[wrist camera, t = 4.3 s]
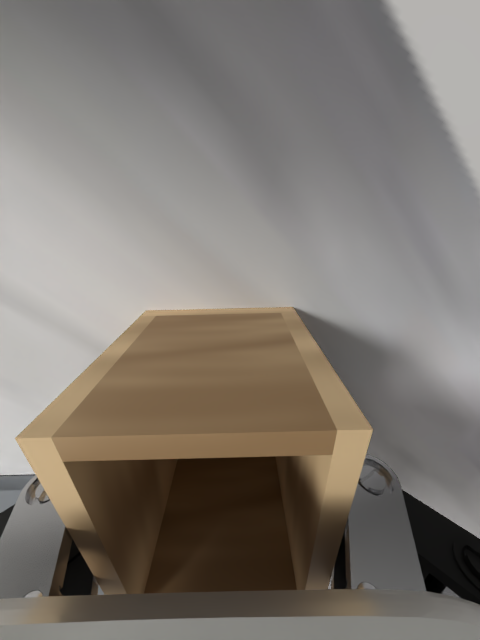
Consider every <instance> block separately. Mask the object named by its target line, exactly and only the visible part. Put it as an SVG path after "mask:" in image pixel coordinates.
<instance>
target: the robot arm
mask: <svg viewBox="0 0 480 640" xmlns="http://www.w3.org/2000/svg"><path fill="white" fill-rule="evenodd" d="M98 586H99V584H98V582H97V581H96V579H95V577H94V575H93V574H92V572H91V570H90V568H89V567H88V565H87V563H86V561H85V560H84V558H83V556H82V554H81V553H80V551H79V549H78V547H77V546H76V544H75V542H74V540H73V539H72V537H71V535H70V533H69V532H68V530H67V528H66V527H65V525H64V523H63V521H62V520H61V518H60V516H59V514H58V513H57V511H56V509H55V507H54V506H53V504H52V502H51V500H50V499H49V497H48V495H47V493H46V492H45V490H44V488H43V486H42V485H41V483H40V481H39V479H38V478H37V476H36V475H35V476H34V477H33V478H31V479H30V481H29V482H28V483H27V484H26V485H25V486H24V488H23V490H22V491H21V493H20V495H19V497H18V499H17V501H16V504H14V505H13V506H11V507H9V508H8V509H6V510H4V511H3V512H1V513H0V640H480V539H479V538H477V537H476V536H474V535H473V534H471V533H469V532H468V531H466V530H465V529H463V528H462V527H460V526H458V525H457V524H455V523H454V522H452V521H451V520H449V519H447V518H446V517H444V516H443V515H441V514H439V513H438V512H436V511H435V510H433V509H432V508H430V507H428V506H427V505H425V504H424V503H422V502H421V501H419V500H417V499H416V498H414V497H413V496H411V495H409V494H408V493H406V492H405V491H403V490H402V489H401V485H400V482H399V480H398V477H397V476H396V474H395V473H394V472H393V470H392V469H391V468H390V467H389V466H388V465H387V464H386V463H384V462H383V461H381V460H379V459H378V458H376V457H373V456H371V455H367V454H366V456H365V460H364V463H363V467H362V470H361V474H360V477H359V481H358V484H357V488H356V491H355V495H354V498H353V502H352V505H351V509H350V512H349V516H348V519H347V523H346V526H345V530H344V533H343V537H342V540H341V544H340V547H339V551H338V554H337V558H336V561H335V565H334V568H333V572H332V575H331V589H323V590H271V591H225V592H184V593H146V594H112V595H98Z"/></svg>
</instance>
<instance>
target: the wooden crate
mask: <svg viewBox="0 0 480 640" xmlns="http://www.w3.org/2000/svg"><path fill="white" fill-rule="evenodd" d="M372 432H373V429H372V427H371V426H370V424H369V422H368V421H367V419H366V418H365V416H364V415H363V413H362V412H361V410H360V409H359V407H358V406H357V404H356V403H355V401H354V400H353V398H352V397H351V395H350V393H349V392H348V390H347V389H346V387H345V386H344V384H343V383H342V381H341V380H340V378H339V377H338V375H337V374H336V372H335V371H334V369H333V367H332V366H331V364H330V363H329V361H328V360H327V358H326V357H325V355H324V354H323V352H322V351H321V349H320V348H319V346H318V345H317V343H316V341H315V340H314V338H313V337H312V335H311V334H310V332H309V331H308V329H307V328H306V326H305V325H304V323H303V322H302V320H301V319H300V317H299V316H298V314H297V312H296V311H295V309H294V308H293V307H276V308H234V309H192V310H150V311H145V312H144V313H143V314H142V315H141V316H140V317H139V318H138V319H137V320H136V321H135V322H134V323H133V324H132V325H131V326H130V327H129V328H128V329H127V330H126V331H125V332H124V333H123V334H122V335H121V336H120V337H119V338H118V339H117V340H115V341H114V342H113V343H112V344H111V345H110V346H109V347H108V348H107V349H106V350H105V351H104V352H103V353H102V354H101V355H100V356H99V357H98V358H97V359H96V360H95V361H94V362H93V363H92V364H91V365H90V366H89V367H88V368H87V369H86V370H85V371H84V372H83V373H82V374H81V375H80V376H79V377H77V378H76V379H75V380H74V381H73V382H72V383H71V384H70V385H69V386H68V387H67V388H66V389H65V390H64V391H63V392H62V393H61V394H60V395H59V396H58V397H57V398H56V399H55V400H54V401H53V402H52V403H51V404H50V405H49V406H48V407H47V408H46V409H45V410H44V411H43V412H42V413H41V414H40V415H38V416H37V417H36V418H35V419H34V420H33V421H32V422H31V423H30V424H29V425H28V426H27V427H26V428H25V429H24V430H23V431H22V432H21V433H20V434H19V435H18V436H17V437H16V438H15V439H16V441H17V443H18V444H19V446H20V448H21V450H22V451H23V453H24V455H25V457H26V458H27V460H28V462H29V464H30V465H31V467H32V469H33V471H34V472H35V474H36V476H37V478H38V479H39V481H40V483H41V485H42V486H43V488H44V490H45V492H46V493H47V495H48V497H49V499H50V500H51V502H52V504H53V506H54V507H55V509H56V511H57V513H58V514H59V516H60V518H61V520H62V521H63V523H64V525H65V527H66V528H67V530H68V532H69V533H70V535H71V537H72V539H73V540H74V542H75V544H76V546H77V547H78V549H79V551H80V553H81V554H82V556H83V558H84V560H85V561H86V563H87V565H88V567H89V568H90V570H91V572H92V574H93V575H94V577H95V579H96V581H97V582H98V584H99V586H100V588H101V589H102V591H103V593H104V595H112V594H146V593H184V592H225V591H271V590H323V589H328V586H329V582H330V579H331V575H332V572H333V568H334V565H335V561H336V558H337V554H338V551H339V547H340V544H341V540H342V537H343V533H344V530H345V526H346V523H347V519H348V516H349V512H350V509H351V505H352V502H353V498H354V495H355V491H356V488H357V484H358V481H359V477H360V474H361V470H362V467H363V463H364V460H365V456H366V453H367V449H368V446H369V442H370V439H371V435H372Z"/></svg>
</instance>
